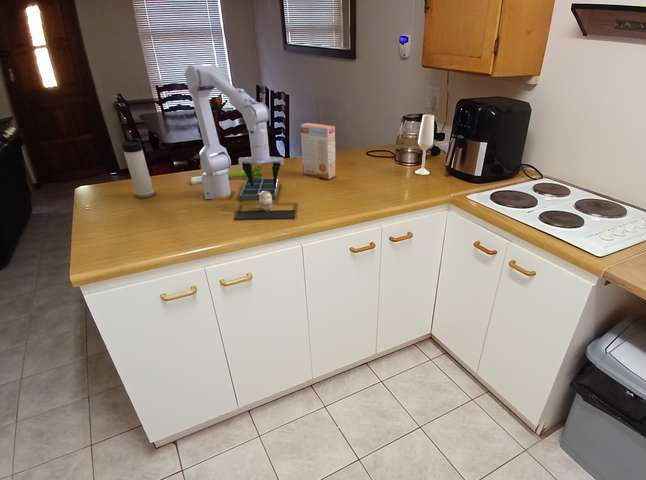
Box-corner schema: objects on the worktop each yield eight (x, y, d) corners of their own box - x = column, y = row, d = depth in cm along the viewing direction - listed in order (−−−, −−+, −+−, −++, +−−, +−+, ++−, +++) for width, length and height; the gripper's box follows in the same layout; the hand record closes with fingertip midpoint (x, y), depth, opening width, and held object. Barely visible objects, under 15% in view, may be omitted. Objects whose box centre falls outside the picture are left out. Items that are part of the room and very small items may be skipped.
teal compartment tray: (240, 202, 151) (239, 195, 149) (247, 185, 167) (246, 178, 166) (276, 202, 152) (275, 194, 150) (279, 185, 168) (279, 178, 166)
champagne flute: (413, 173, 183) (418, 116, 170) (417, 169, 189) (422, 113, 175) (427, 175, 181) (434, 117, 168) (431, 171, 187) (438, 114, 173)
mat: (235, 219, 138) (234, 218, 137) (241, 204, 149) (241, 203, 149) (294, 218, 139) (294, 217, 139) (295, 203, 151) (295, 202, 150)
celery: (194, 184, 172) (265, 175, 176) (193, 192, 167) (266, 182, 171) (190, 171, 168) (262, 161, 172) (189, 178, 163) (263, 168, 167)
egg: (259, 212, 142) (257, 193, 138) (261, 208, 146) (259, 188, 142) (272, 212, 142) (270, 193, 138) (273, 207, 146) (271, 188, 142)
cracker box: (336, 176, 178) (335, 125, 167) (328, 180, 174) (327, 128, 162) (310, 171, 184) (308, 121, 173) (302, 174, 180) (299, 124, 168)
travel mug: (158, 193, 158) (144, 139, 147) (145, 199, 153) (129, 143, 142) (146, 191, 160) (132, 137, 149) (133, 196, 155) (116, 141, 144)
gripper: (234, 147, 128) (240, 189, 136) (281, 147, 129) (284, 189, 137) (238, 142, 134) (243, 182, 141) (282, 142, 135) (285, 182, 142)
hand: (263, 185), depth 139 cm, fingers open, 7 cm apart
